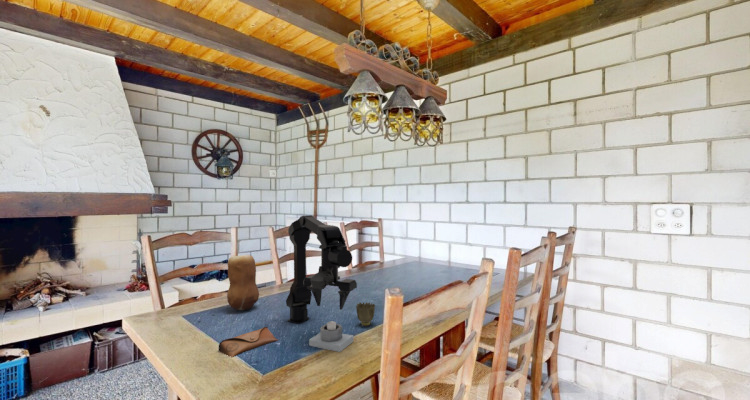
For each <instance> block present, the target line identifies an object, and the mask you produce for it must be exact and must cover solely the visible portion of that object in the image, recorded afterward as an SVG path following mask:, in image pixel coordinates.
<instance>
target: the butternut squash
mask: <svg viewBox="0 0 750 400" xmlns="http://www.w3.org/2000/svg"><path fill="white" fill-rule="evenodd" d="M256 274H257V267H256V261H255V258H254V256H252V255H251V254H244V255H233V256H230V258H228V260H227V276H228V280H229V287H228V290H227V293H226V297H227V298H226V299H227V303H228V305H229V306H230V308H233V309H235V310H237V311H249V310H250V309H251V308H252V307H253V306H254V305H255V304H256V303H257V302H258V301H259V298H260V291H259V288H258V286H257V281H256V276H257V275H256Z"/></svg>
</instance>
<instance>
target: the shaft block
mask: <svg viewBox="0 0 750 400" xmlns="http://www.w3.org/2000/svg"><path fill="white" fill-rule="evenodd" d="M326 324H327V330H336V324H337V322H336V321H333V320H332V321H328V322H326ZM308 339H309V338H308ZM353 342H354V335H353V334H347V333H342V338H341V339H340V340H339V341H334V342H325V341H322V340H321V338H320V332H319V333H318V334H316V335H314V336H313V337H311V338H310V339H309V340H308V345H309V346H310V347H315V348H317V349H318V348H319V349H323V350H329V351H332V352H338V353H340V352H342V351H344V350H345V348H347V347H348V346H349V345H350V344H352V343H353Z"/></svg>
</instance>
